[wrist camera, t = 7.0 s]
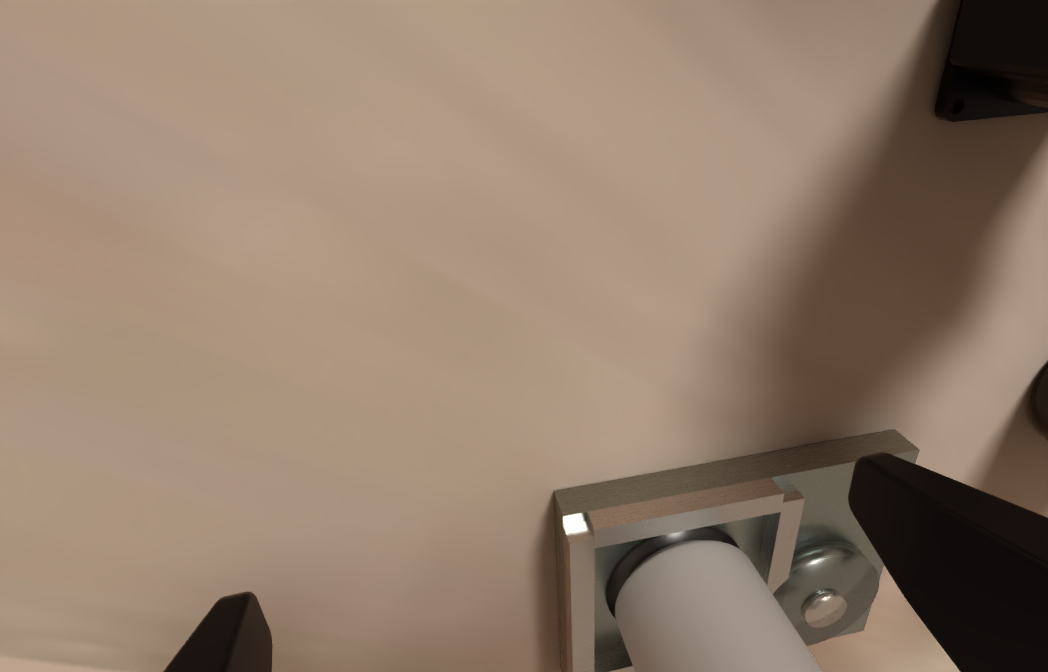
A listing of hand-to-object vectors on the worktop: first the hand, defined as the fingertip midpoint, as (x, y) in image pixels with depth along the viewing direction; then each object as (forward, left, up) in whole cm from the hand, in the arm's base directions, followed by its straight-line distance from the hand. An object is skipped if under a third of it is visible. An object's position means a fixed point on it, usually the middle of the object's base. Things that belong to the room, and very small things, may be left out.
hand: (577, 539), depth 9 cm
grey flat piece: (-11, +17, -13) cm, 24 cm away
